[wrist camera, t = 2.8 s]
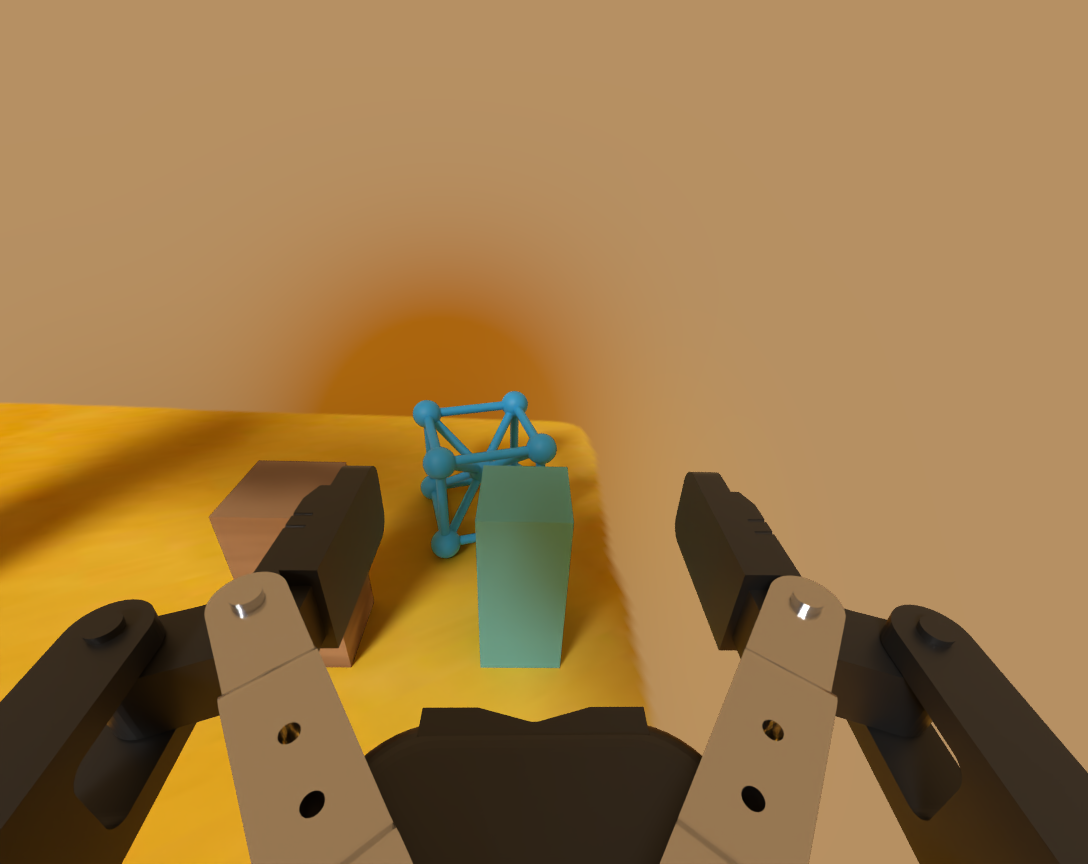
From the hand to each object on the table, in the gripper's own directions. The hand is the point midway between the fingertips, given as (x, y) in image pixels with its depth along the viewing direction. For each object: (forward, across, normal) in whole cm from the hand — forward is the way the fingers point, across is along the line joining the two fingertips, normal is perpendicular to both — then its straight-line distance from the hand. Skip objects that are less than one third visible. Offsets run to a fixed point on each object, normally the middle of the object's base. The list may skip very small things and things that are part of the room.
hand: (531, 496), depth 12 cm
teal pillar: (+11, 0, +20) cm, 23 cm away
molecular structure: (+23, +4, +20) cm, 31 cm away
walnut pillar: (+11, +13, +20) cm, 27 cm away
